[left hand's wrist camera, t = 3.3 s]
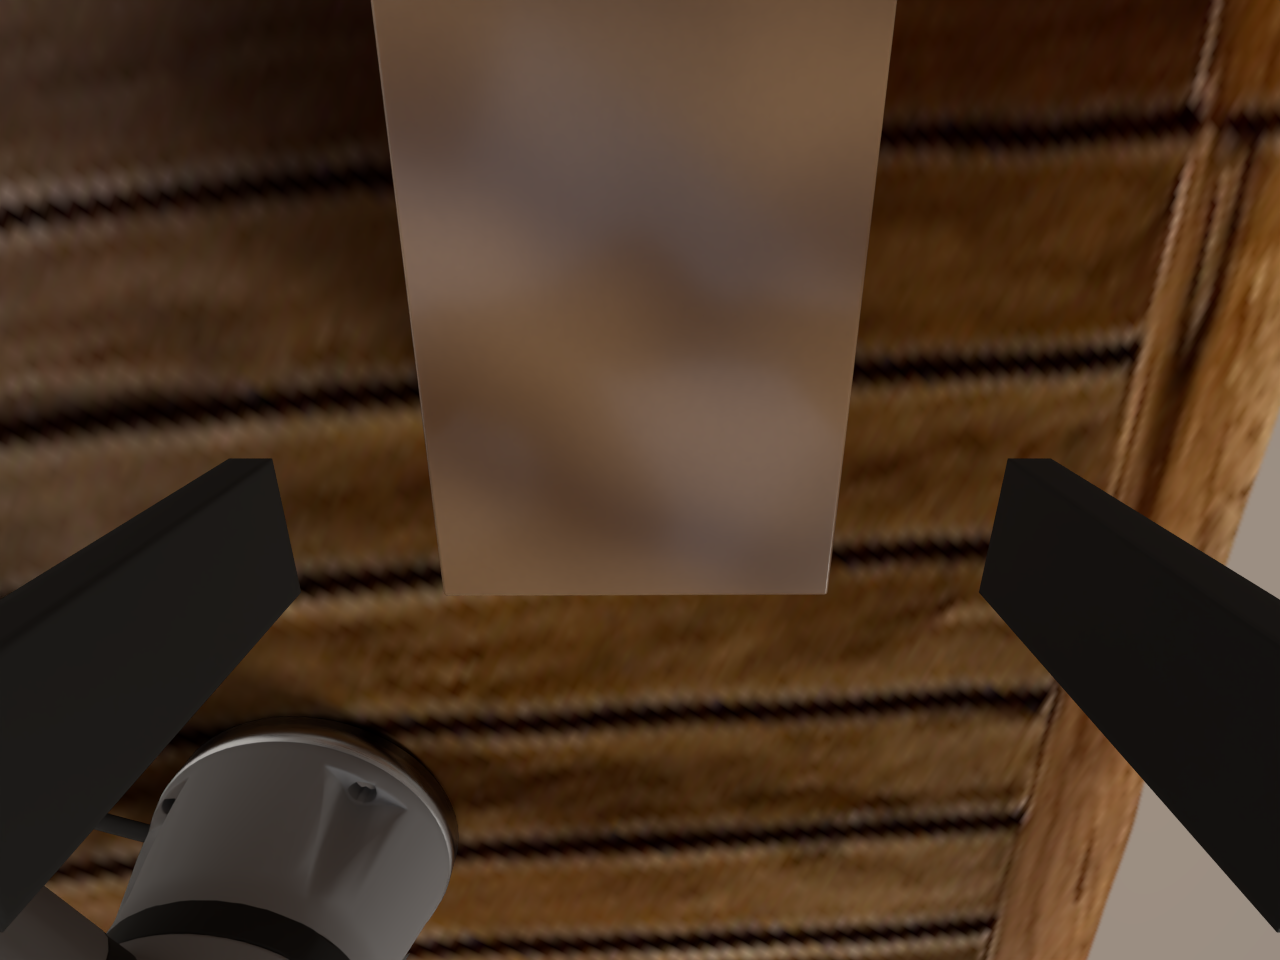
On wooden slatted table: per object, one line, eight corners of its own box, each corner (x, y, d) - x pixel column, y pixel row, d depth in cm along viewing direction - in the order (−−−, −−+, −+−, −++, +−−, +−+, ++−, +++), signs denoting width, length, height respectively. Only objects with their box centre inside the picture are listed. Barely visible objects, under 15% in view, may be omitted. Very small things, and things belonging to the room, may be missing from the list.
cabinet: (468, -150, 22) (306, -497, 11) (799, -150, 22) (957, -493, 11) (513, 455, 29) (443, 596, 19) (758, 455, 29) (828, 595, 19)
